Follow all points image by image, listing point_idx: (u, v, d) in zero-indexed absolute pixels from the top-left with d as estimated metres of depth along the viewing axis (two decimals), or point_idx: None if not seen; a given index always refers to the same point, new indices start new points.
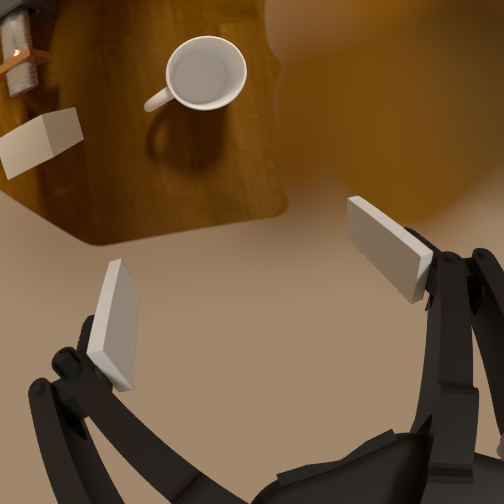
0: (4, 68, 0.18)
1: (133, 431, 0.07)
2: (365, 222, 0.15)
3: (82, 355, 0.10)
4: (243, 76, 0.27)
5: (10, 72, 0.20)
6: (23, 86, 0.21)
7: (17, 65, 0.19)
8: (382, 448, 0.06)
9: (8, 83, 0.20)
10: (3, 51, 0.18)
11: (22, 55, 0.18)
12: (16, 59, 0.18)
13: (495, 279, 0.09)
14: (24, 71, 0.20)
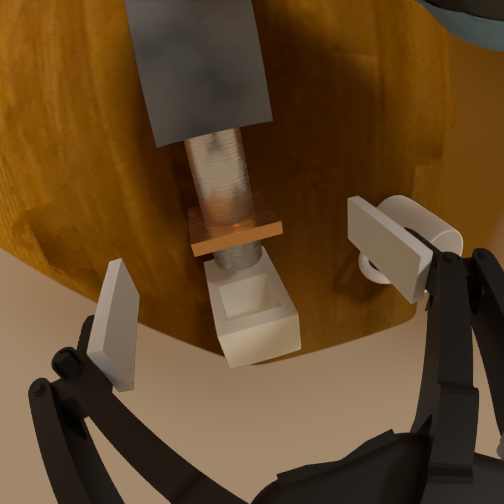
0: (232, 243, 0.21)
1: (133, 431, 0.07)
2: (365, 222, 0.15)
3: (82, 355, 0.10)
4: None
5: None
6: (253, 263, 0.24)
7: None
8: (382, 448, 0.06)
9: (222, 253, 0.23)
10: (208, 198, 0.20)
11: (268, 229, 0.21)
12: (256, 234, 0.21)
13: (495, 279, 0.09)
14: (253, 241, 0.23)
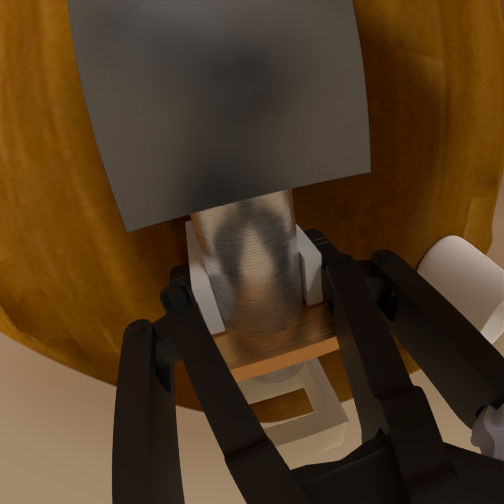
0: (272, 367, 0.12)
1: (219, 379, 0.08)
2: None
3: None
4: None
5: None
6: (296, 371, 0.15)
7: None
8: (382, 448, 0.06)
9: None
10: (233, 299, 0.12)
11: (330, 344, 0.12)
12: (312, 352, 0.12)
13: (407, 281, 0.10)
14: None
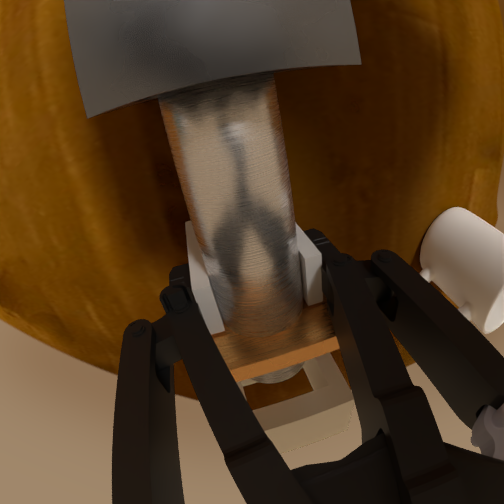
0: (273, 367, 0.12)
1: (219, 379, 0.08)
2: None
3: None
4: None
5: None
6: (296, 371, 0.15)
7: None
8: (382, 448, 0.06)
9: None
10: (233, 299, 0.12)
11: (331, 344, 0.12)
12: (312, 352, 0.12)
13: (407, 281, 0.10)
14: None
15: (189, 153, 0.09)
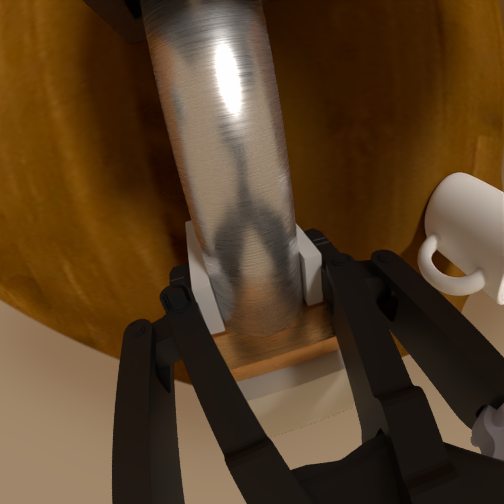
0: (273, 367, 0.12)
1: (219, 379, 0.08)
2: None
3: None
4: None
5: None
6: None
7: None
8: (382, 448, 0.06)
9: None
10: (233, 299, 0.12)
11: (331, 344, 0.12)
12: (312, 352, 0.12)
13: (407, 281, 0.10)
14: None
15: (190, 152, 0.09)
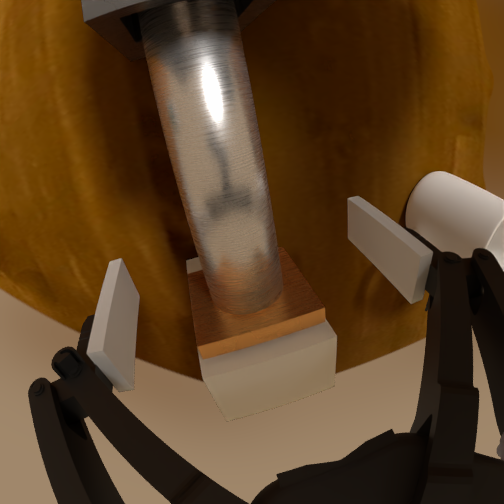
0: (255, 340, 0.14)
1: (133, 431, 0.07)
2: (365, 222, 0.15)
3: (82, 355, 0.10)
4: None
5: None
6: None
7: None
8: (382, 448, 0.06)
9: None
10: (220, 278, 0.14)
11: (307, 320, 0.14)
12: (290, 327, 0.14)
13: (495, 279, 0.09)
14: None
15: (183, 155, 0.11)
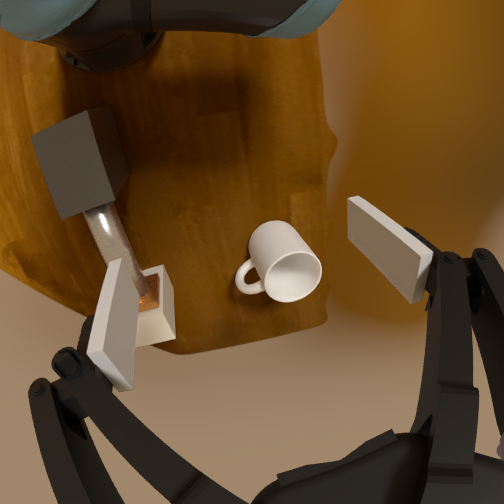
0: None
1: (133, 431, 0.07)
2: (365, 222, 0.15)
3: (82, 355, 0.10)
4: (318, 276, 0.41)
5: None
6: None
7: None
8: (382, 448, 0.06)
9: None
10: None
11: (150, 305, 0.36)
12: (144, 307, 0.36)
13: (495, 279, 0.09)
14: None
15: (100, 250, 0.33)
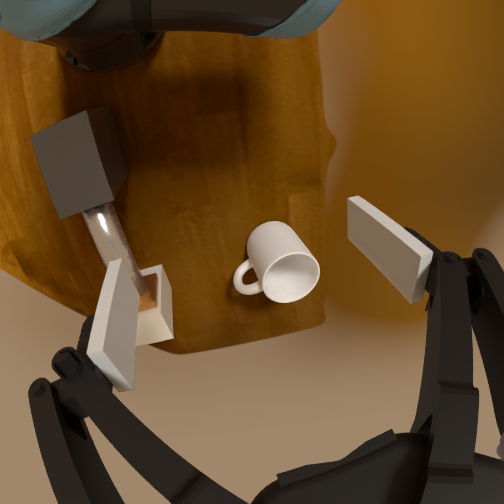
0: None
1: (133, 431, 0.07)
2: (365, 222, 0.15)
3: (83, 355, 0.10)
4: (316, 277, 0.41)
5: None
6: None
7: None
8: (382, 448, 0.06)
9: None
10: None
11: (148, 305, 0.36)
12: (142, 307, 0.36)
13: (495, 279, 0.09)
14: None
15: (98, 249, 0.33)
